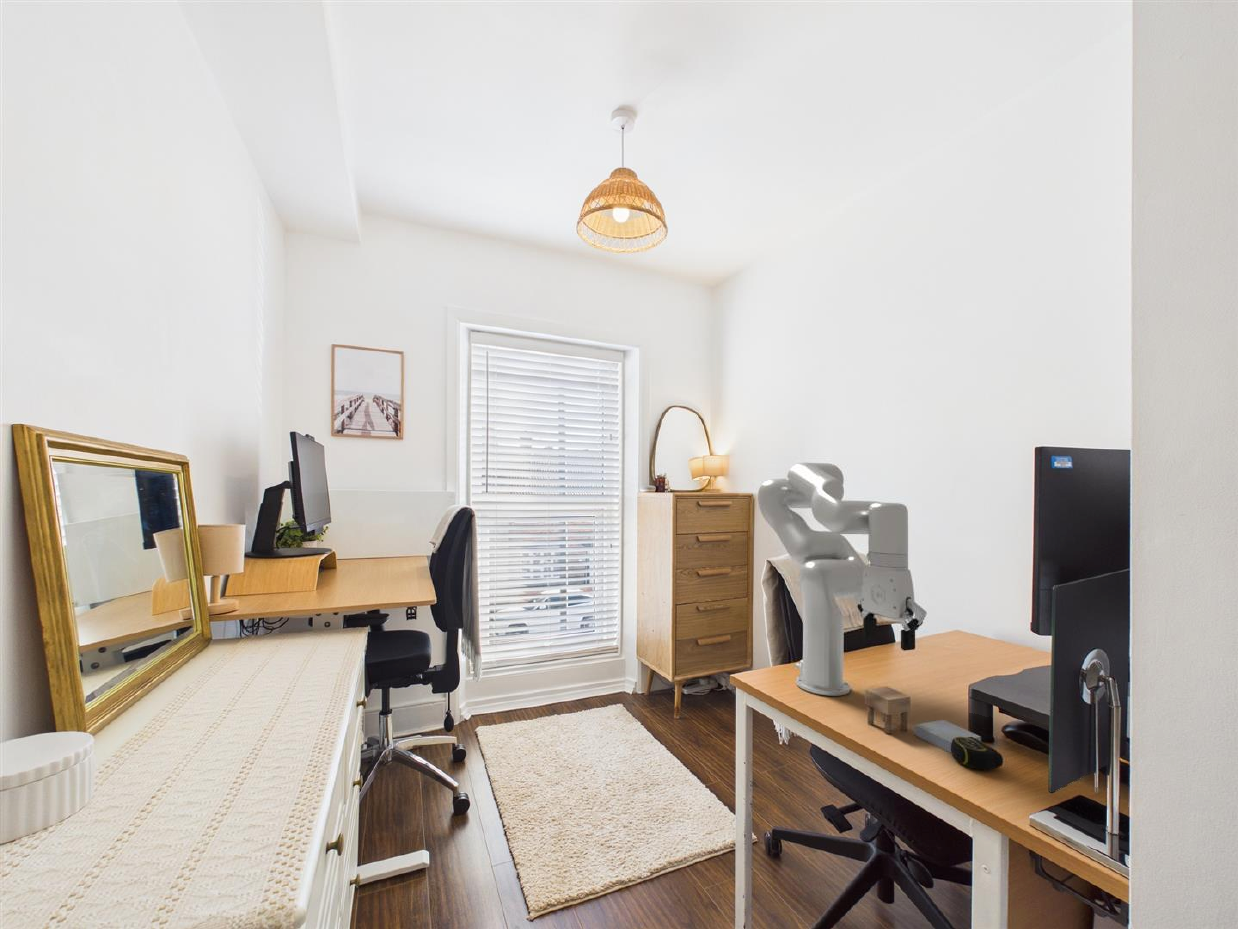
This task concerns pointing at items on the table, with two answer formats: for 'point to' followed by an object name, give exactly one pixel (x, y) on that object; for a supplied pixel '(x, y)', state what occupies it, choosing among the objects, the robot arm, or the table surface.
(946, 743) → the plinth
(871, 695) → the stool
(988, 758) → the tape measure
